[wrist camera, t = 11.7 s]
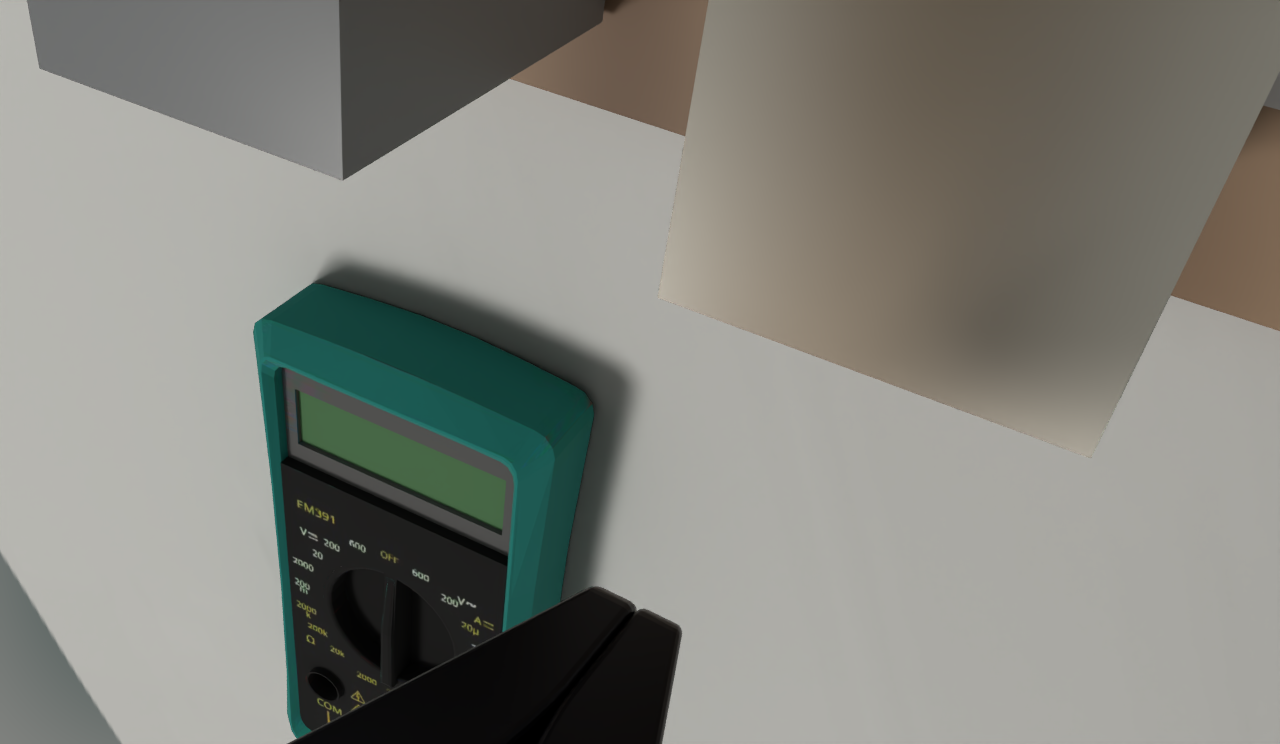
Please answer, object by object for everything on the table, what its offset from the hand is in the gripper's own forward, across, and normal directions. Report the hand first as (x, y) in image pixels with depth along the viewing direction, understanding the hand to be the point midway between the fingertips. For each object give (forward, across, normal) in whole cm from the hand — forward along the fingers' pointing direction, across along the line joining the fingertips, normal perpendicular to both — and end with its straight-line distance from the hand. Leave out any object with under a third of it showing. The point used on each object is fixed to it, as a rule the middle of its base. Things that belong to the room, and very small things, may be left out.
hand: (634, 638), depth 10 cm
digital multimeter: (+12, +9, +14) cm, 20 cm away
